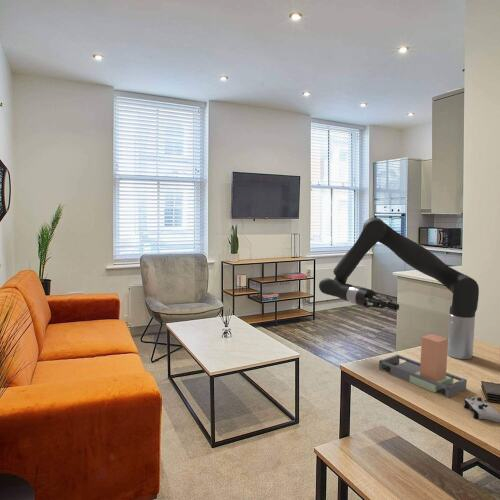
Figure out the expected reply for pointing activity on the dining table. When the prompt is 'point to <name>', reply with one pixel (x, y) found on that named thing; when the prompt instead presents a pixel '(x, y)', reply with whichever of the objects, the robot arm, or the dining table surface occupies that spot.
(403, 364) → the box
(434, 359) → the terracotta block
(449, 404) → the dining table surface
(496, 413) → the gaming controller
